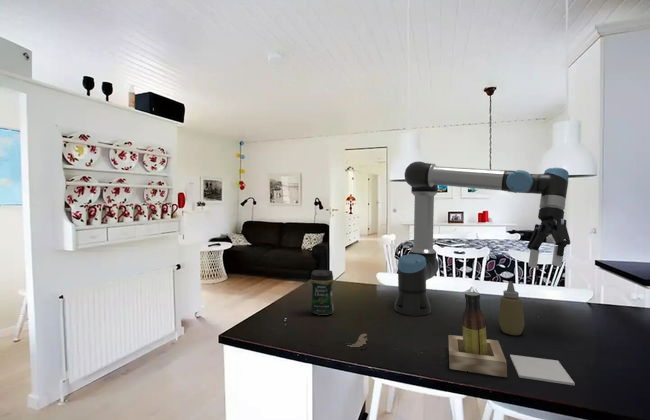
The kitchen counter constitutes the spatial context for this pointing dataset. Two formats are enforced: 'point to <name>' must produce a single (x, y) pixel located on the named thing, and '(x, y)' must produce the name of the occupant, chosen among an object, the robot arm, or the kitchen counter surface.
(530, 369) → the grey mat
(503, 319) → the squeeze bottle
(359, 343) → the jawbone
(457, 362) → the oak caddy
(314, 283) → the coffee jar
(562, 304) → the kitchen counter surface
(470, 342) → the sauce bottle
